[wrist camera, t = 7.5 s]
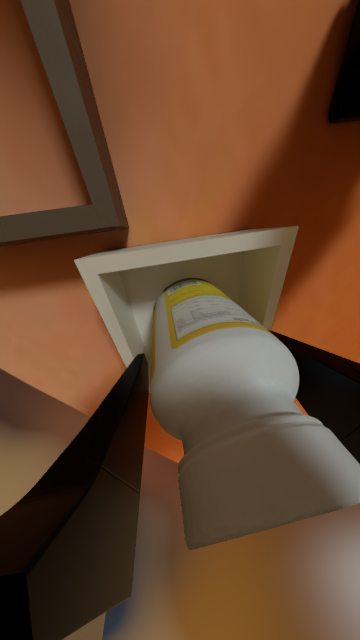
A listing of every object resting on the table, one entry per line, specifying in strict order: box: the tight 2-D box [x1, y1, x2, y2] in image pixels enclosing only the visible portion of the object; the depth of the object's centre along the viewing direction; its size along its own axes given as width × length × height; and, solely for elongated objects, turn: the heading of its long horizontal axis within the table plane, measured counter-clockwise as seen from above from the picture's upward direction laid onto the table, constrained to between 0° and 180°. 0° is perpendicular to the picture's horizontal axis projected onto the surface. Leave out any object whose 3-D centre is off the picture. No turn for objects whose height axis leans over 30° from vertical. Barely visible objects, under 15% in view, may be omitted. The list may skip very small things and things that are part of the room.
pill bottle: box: [150, 278, 360, 550], centre depth 8 cm, size 6×6×12 cm
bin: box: [74, 226, 299, 393], centre depth 12 cm, size 12×12×4 cm
